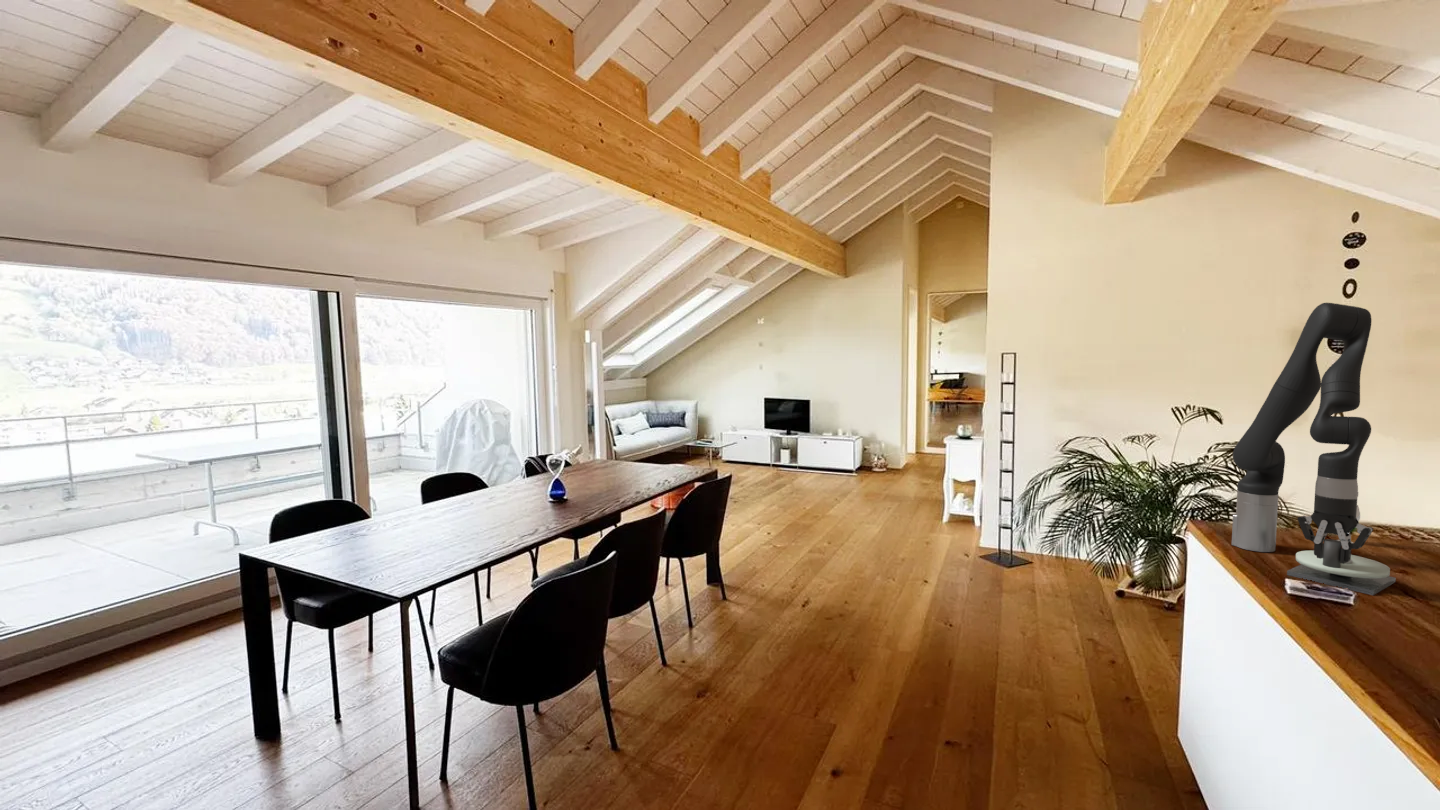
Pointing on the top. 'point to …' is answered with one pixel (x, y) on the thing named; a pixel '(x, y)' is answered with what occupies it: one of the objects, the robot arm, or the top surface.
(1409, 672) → the top surface
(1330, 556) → the handwheel
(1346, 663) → the top surface
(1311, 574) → the wheel stand
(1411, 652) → the top surface
